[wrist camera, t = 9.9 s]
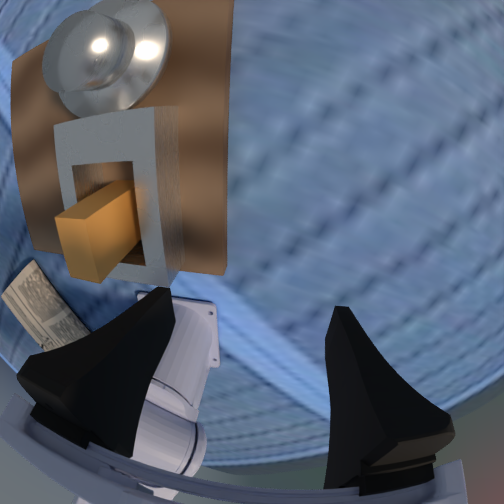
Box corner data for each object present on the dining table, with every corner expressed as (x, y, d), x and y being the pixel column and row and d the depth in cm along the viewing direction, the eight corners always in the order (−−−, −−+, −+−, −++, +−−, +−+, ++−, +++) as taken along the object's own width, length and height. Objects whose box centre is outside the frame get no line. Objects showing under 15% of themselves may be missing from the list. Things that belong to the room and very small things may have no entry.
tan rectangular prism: (149, 231, 20) (100, 283, 14) (122, 228, 20) (70, 276, 14) (144, 180, 18) (85, 219, 12) (116, 180, 18) (54, 217, 12)
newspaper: (198, 422, 40) (194, 436, 38) (130, 420, 47) (126, 430, 44) (38, 255, 26) (24, 266, 24) (5, 293, 32) (-4, 302, 30)
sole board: (227, 265, 22) (223, 275, 21) (42, 243, 24) (34, 249, 23) (234, -4, 12) (230, -12, 11) (22, 60, 14) (12, 61, 13)
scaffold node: (189, 261, 21) (159, 312, 16) (100, 250, 22) (60, 290, 16) (188, -5, 11) (149, -40, 6) (86, 24, 12) (31, 14, 7)
